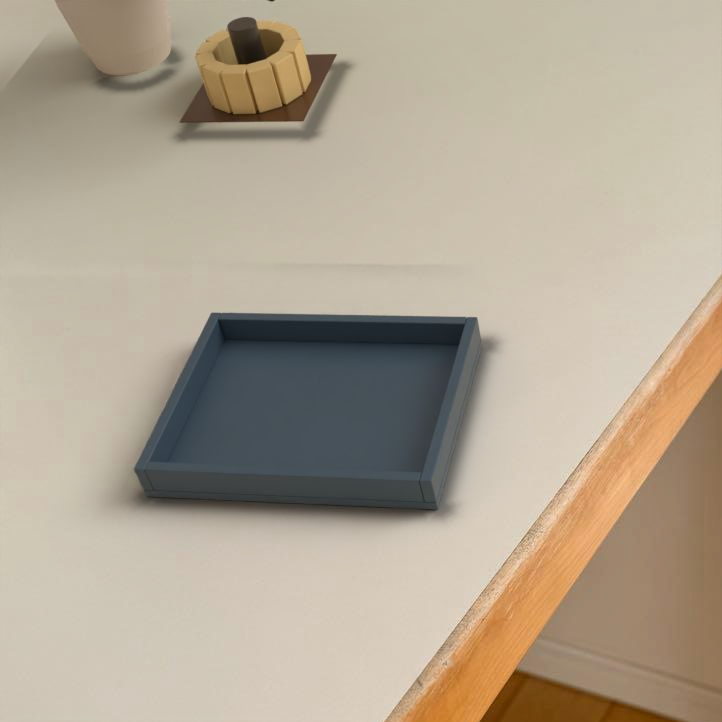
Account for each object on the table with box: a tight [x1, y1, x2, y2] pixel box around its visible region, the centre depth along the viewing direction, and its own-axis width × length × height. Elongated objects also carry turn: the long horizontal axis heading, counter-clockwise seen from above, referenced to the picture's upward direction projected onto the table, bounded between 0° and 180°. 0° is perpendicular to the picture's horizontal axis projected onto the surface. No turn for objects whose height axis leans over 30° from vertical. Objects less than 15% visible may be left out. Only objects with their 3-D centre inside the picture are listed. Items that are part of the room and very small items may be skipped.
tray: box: [133, 312, 483, 510], centre depth 65 cm, size 15×12×2 cm
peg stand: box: [179, 16, 338, 124], centre depth 86 cm, size 9×9×6 cm
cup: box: [54, 0, 172, 76], centre depth 90 cm, size 8×8×10 cm
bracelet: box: [194, 20, 311, 114], centre depth 87 cm, size 7×7×3 cm
